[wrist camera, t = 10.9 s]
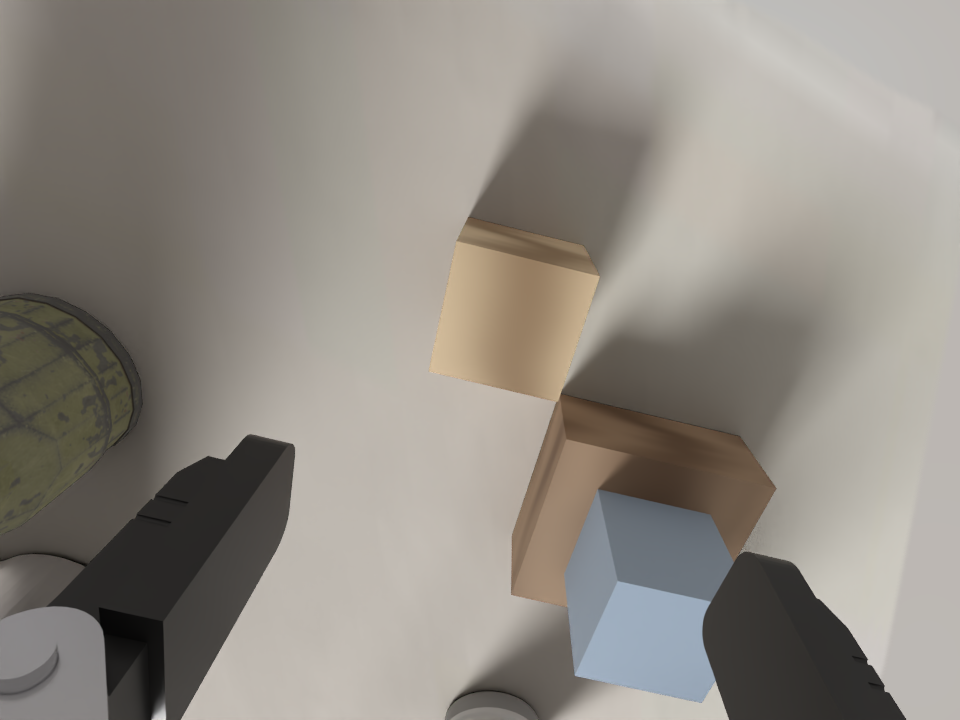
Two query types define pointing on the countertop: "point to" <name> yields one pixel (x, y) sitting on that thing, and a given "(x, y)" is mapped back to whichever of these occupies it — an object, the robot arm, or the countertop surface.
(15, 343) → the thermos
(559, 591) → the walnut plinth
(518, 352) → the oak block
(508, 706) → the travel mug
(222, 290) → the countertop surface
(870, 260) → the countertop surface
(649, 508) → the slate block
